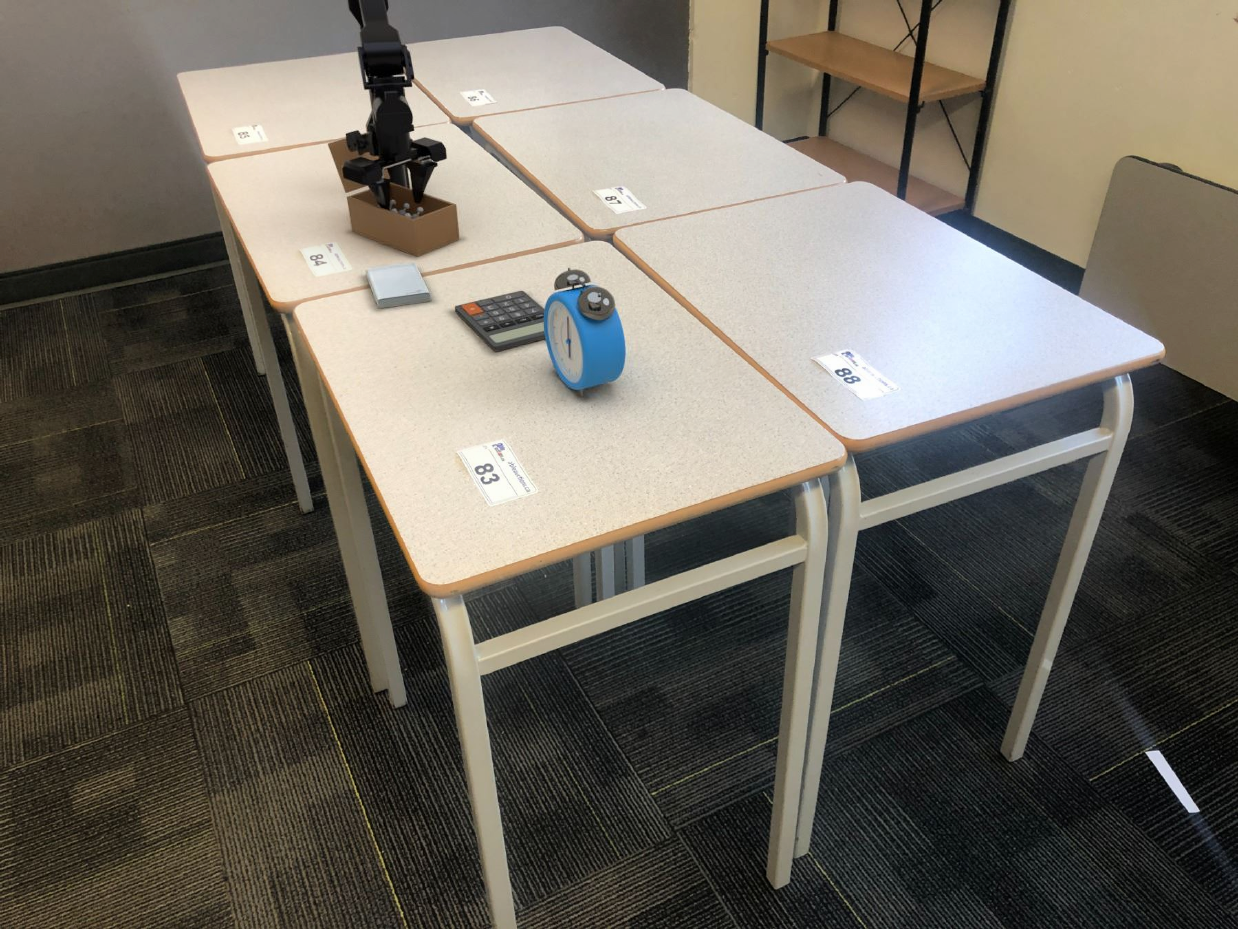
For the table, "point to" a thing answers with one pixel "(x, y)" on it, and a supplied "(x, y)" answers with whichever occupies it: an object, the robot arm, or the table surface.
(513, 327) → the calculator
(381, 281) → the hard drive
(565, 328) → the alarm clock
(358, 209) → the carton
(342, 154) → the carton flap
